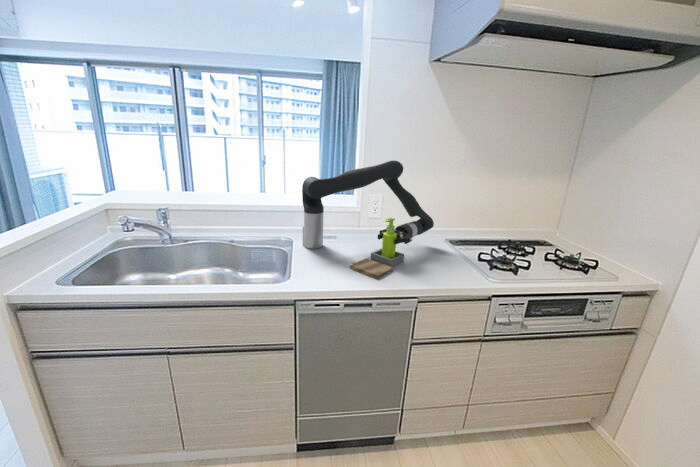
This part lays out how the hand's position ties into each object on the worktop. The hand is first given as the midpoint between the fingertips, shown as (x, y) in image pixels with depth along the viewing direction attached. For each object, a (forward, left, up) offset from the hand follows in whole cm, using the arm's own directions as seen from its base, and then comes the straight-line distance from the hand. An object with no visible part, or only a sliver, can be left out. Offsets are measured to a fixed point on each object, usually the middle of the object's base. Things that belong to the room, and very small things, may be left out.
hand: (386, 239), depth 136 cm
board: (0, -10, -11) cm, 15 cm away
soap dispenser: (0, +2, -11) cm, 11 cm away
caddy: (0, +2, -11) cm, 11 cm away
